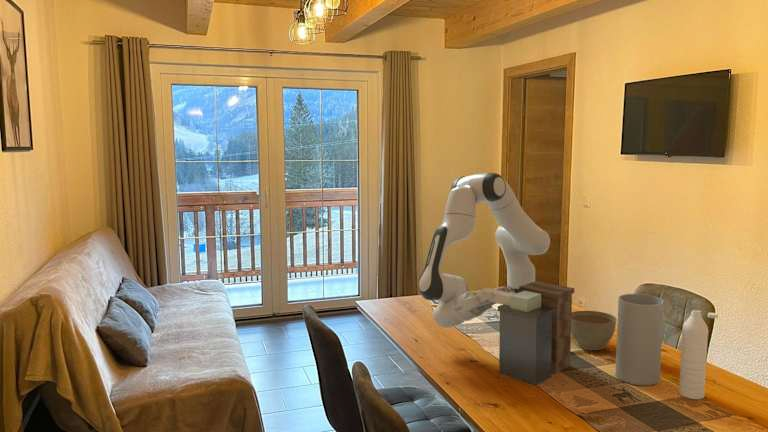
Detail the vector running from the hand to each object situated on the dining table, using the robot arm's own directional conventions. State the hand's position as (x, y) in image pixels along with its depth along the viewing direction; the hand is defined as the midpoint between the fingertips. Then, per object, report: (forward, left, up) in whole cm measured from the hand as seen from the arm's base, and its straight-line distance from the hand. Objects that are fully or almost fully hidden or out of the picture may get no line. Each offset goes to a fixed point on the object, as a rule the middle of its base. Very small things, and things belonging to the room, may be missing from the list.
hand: (501, 291), depth 184 cm
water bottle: (-21, +52, -26) cm, 62 cm away
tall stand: (-12, +9, -25) cm, 30 cm away
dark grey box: (0, +9, -25) cm, 27 cm away
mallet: (0, +3, -3) cm, 4 cm away
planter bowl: (-38, +12, -26) cm, 47 cm away
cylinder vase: (-22, +35, -26) cm, 49 cm away
